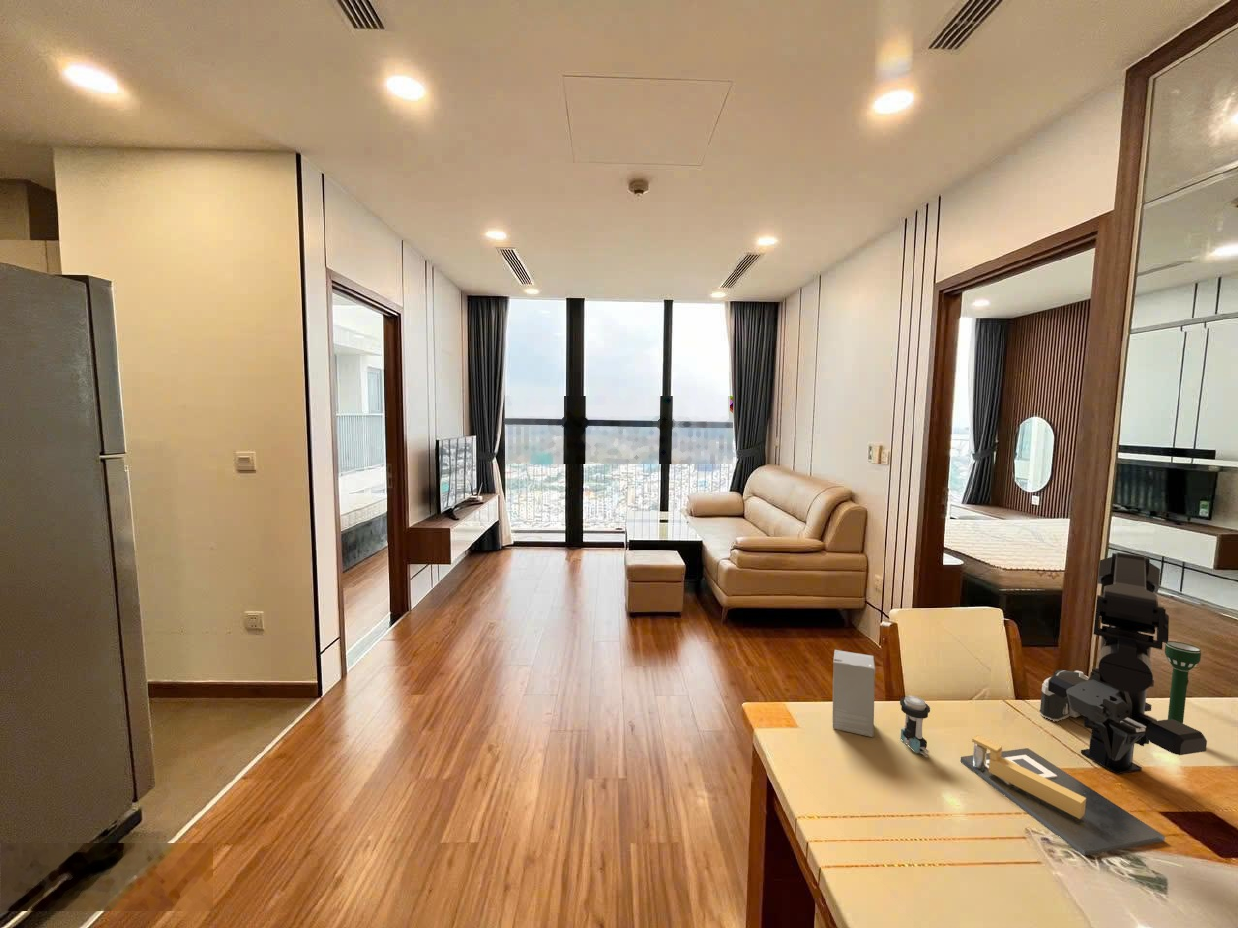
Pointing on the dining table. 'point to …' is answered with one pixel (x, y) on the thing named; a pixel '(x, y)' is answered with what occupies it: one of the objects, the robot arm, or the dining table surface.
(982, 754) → the pivot post
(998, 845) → the dining table surface
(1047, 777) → the label tile
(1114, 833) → the chassis plate
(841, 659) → the skincare box
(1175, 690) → the flashlight
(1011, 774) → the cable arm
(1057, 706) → the camera
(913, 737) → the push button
